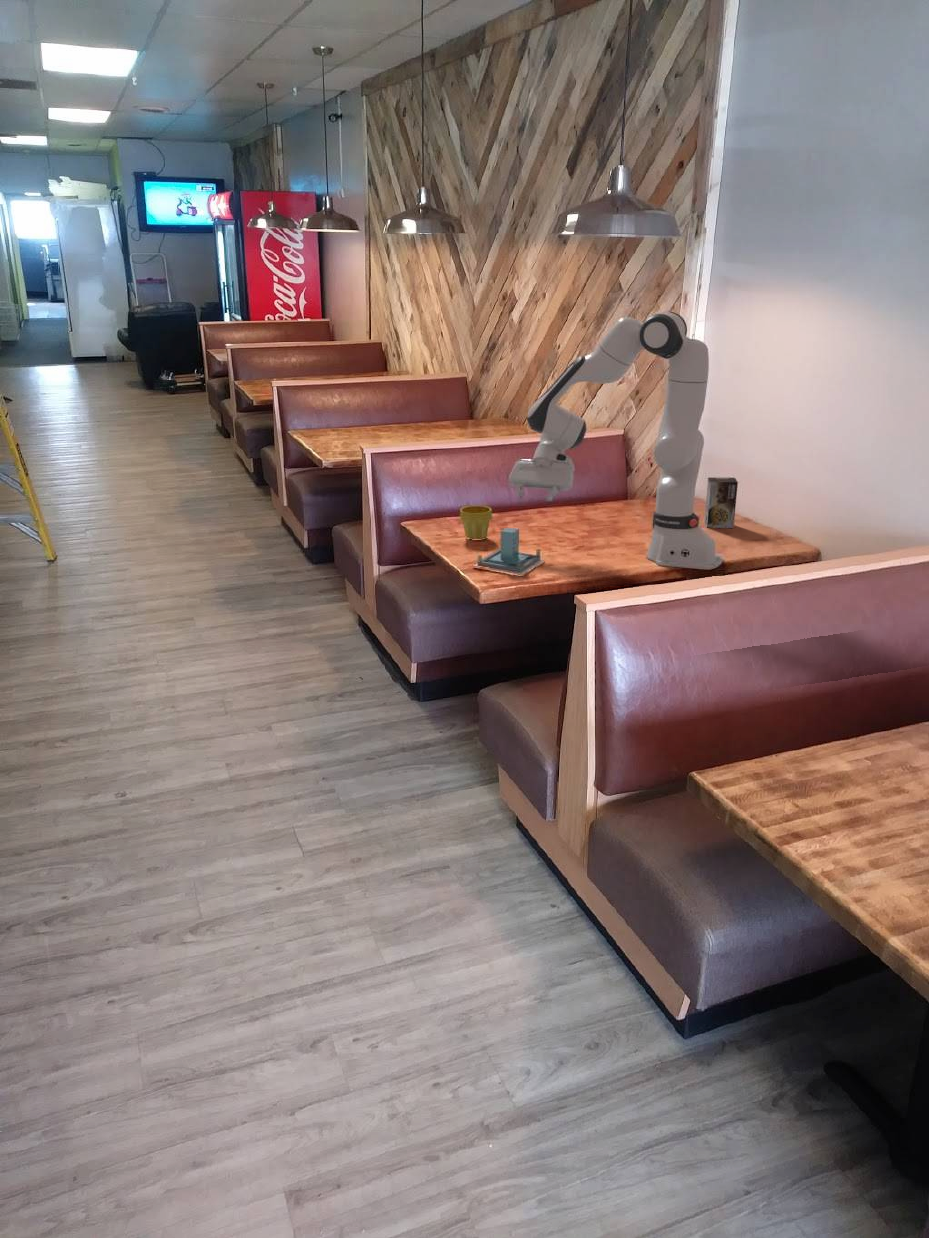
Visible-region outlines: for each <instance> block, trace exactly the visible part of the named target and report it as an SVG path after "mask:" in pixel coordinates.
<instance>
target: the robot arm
mask: <svg viewBox="0 0 929 1238" xmlns="http://www.w3.org/2000/svg"><path fill="white" fill-rule="evenodd" d="M687 333H688V326H687V322H686V321H685V319H684V318H683V317H682V316H681V315H680V314H679V313H677V312H673V311H660V312H657V313H654V314H653V315H651V316H649V317H648V318H646V319H645V320H644V322H642V321H640V320H638V319H636V318H634V317H630V316H624V317H621V318H619V319H618V320H617V321H616V322H615V323H614V325H612V326H611V328H610V329H609V330H608V331H607V333H606V334H605V335H604V337H603V338H602V339H601V341H600V342H599V344H598V345H597V347H596V348H595V349H594V350H593V351H592V352H590V353H588V354H587V355H585V356H582V355H581V356H578V357H577V358H576V359H574V360H573V361H572V362H571V363H570V364H569V365H568V366H567V367H566V368H565V370H564V371H563V372H562V373H561V374H560V375H559V376H558V377H557V378H556V379H555V381H554V382H553V383H552V384H551V385H550V386H549V387H548V388H547V390H546V391H544V393H543V394H542V395H541V396H539V398H538V399H536V401H535V402H534V403H533V404H532V405H531V406H530V408H529V410H528V412H527V414H526V420H527V424H528V426H529V428H530V430H532V431H535V432H536V433H539V434H541V435H540V438H539V439H540V440H539V444H538V445H537V447H536V449H535V452H534V455H533V458H532V459H524V458H521V459H518V460H517V461H515V462H514V465H513V468H512V470H511V472H510V473H509V476H508V481H509V483H510V484H511V485H512V487H517V491H518V492H517V498H518V499H522V500H523V499H524V498H525V492H524V491H523V490H524V488H526V489H527V488H529V489H532V488H533V489H541V490H550V492H549V493H546V495H545V500H546V502H552V501H553V498H554V497H555V496H556V495H558V494H559V491H565V492H568V491H570V490H571V489H572V487H573V484H574V479H575V474H574V472H575V471H576V467H575V464H574V461H573V460H572V458H571V456H569V455H568V454H565V451H566V450H571V449H575V448H577V447H578V446H580V445H581V444H582V442H583V440H584V438H585V435H586V433H587V424H586V421H585V419H583V417H581V416H579V414H578V415H577V414H575V413H574V412H572V411H570V410H568V409H566V408H564V407H562V406H561V405H559V404H557V403H558V402H559V401H560V399H562V397H563V396H564V395H565V394H566V393H567V391H568V390H570V389H571V387H572V386H573V385H576V384H578V383H595V384H602V385H603V384H611V383H615V382H618V381H619V380H621V379H622V378H623V377H624V375H625V374H626V373H627V372H628V371H629V368H631V366H632V364H633V363H634V361H635V360H636V358H637V357H638V355H640V353H641V352H642V351H644V350H645V351H647V352H648V353H651V354H653V355H655V356H658V357H660V358H662V359H665V360H668V368H669V369H668V376H667V385H666V391H665V392H666V393H665V402H664V409H663V413H662V417H661V419H660V420H661V421H660V423H659V428H658V434H657V437H656V442H655V446H654V449H653V459H654V462H655V464H656V465H657V466H658V467H659V468H660V469H661V471H660V476H659V479H658V482H657V485H656V496H655V509H654V510H653V516H652V523H651V524H652V534H651V540H650V544H649V546H648V549H647V552H646V557H647V558H648V559H649V560H650V561H653V562H654V563H655V564H657V565H658V566H664V567H673V568H674V567H675V568H676V567H677V568H685V569H697V570H713V569H716V568H718V567H720V566H721V565H722V563H723V561H724V560H723V555H721V554H719V553H717V552H716V549H717V548H716V543H715V540H714V538H712V537H711V536H710V535H709V534H708V533H707V532H706V531H705V530H703V529H702V528H701V527H700V526H699V523H700V520H701V515H700V514H699V515H697V514H696V513H695V512H694V507H695V506H694V505H695V504H694V503H695V496H696V494H695V493H696V485H697V481H698V480H697V479H698V476H699V472H700V466H701V460H702V455H703V449H704V444H705V439H704V435H703V433H702V431H701V430H700V429H699V427H700V424H701V419H702V416H703V413H704V409H705V402H706V397H707V389H708V381H709V368H710V367H709V365H710V361H709V360H710V359H709V358H710V357H709V356H710V355H709V348H708V346H707V345H706V343H705V342H703V341H701V340H699V339H695V338H689V337H687Z"/></svg>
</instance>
